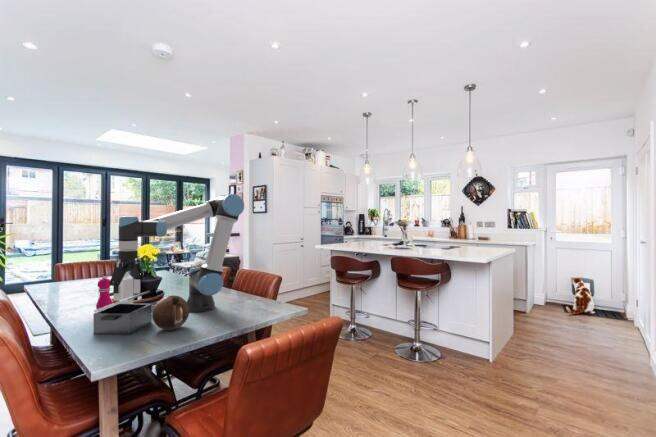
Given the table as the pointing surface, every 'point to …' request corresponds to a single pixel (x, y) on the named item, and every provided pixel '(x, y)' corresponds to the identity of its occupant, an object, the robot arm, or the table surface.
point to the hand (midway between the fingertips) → (127, 296)
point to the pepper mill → (104, 293)
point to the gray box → (122, 319)
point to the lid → (121, 301)
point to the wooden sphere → (170, 312)
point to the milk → (127, 288)
